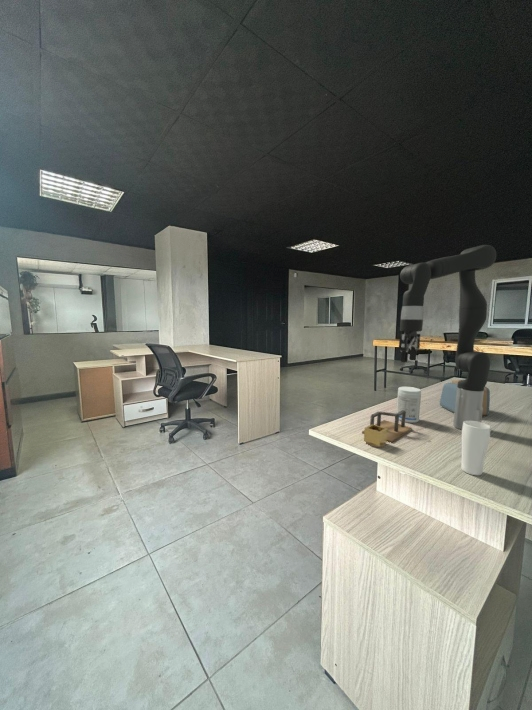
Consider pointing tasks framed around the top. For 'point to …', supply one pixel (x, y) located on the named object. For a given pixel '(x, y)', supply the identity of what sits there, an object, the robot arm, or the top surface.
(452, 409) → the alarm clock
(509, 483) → the top surface
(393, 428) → the wire board
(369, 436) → the yellow open box
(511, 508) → the top surface
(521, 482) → the top surface
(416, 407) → the supplement tub
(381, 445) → the end peg
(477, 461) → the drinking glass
